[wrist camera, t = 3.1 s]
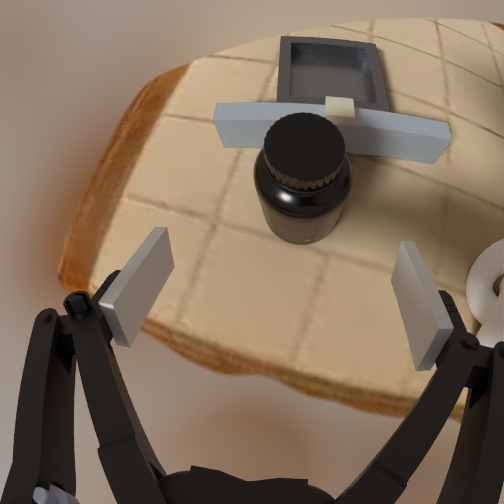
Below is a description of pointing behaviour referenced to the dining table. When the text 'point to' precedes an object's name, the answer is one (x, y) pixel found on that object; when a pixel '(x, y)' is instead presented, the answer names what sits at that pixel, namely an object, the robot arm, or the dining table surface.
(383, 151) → the door edge plank
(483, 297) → the white trefoil knot
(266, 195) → the supplement bottle
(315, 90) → the keeper frame
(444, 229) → the dining table surface
